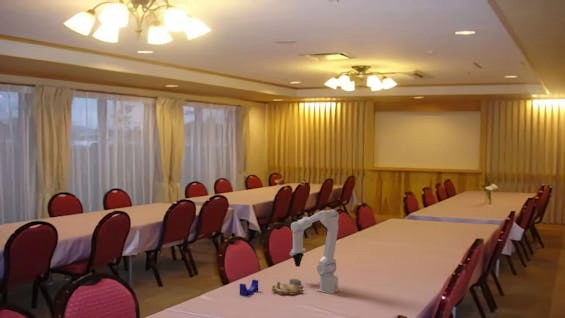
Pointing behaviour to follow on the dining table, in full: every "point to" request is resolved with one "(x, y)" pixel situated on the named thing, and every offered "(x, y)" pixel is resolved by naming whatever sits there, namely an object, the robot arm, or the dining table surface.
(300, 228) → the robot arm
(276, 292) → the wheel base
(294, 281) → the link block
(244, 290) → the cable clip
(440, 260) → the dining table surface
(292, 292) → the sprocket wheel
